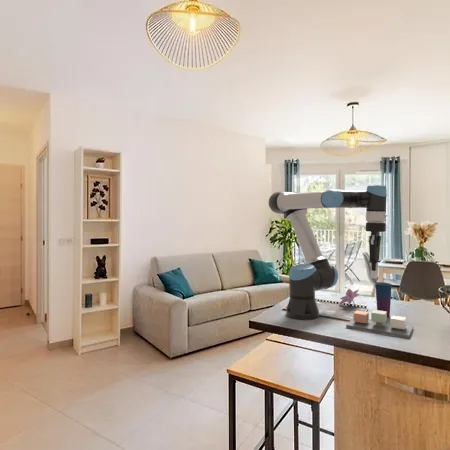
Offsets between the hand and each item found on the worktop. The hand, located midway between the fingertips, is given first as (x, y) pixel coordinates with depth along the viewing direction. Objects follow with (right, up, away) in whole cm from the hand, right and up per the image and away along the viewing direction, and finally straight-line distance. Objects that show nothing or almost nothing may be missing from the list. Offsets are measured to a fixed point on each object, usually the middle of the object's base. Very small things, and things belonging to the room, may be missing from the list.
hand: (373, 277), depth 138 cm
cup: (+10, -20, +13) cm, 26 cm away
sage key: (0, -17, -4) cm, 17 cm away
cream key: (+6, -18, -8) cm, 21 cm away
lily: (+2, -20, +31) cm, 37 cm away
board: (+1, -20, -4) cm, 20 cm away
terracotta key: (-5, -18, 0) cm, 19 cm away
